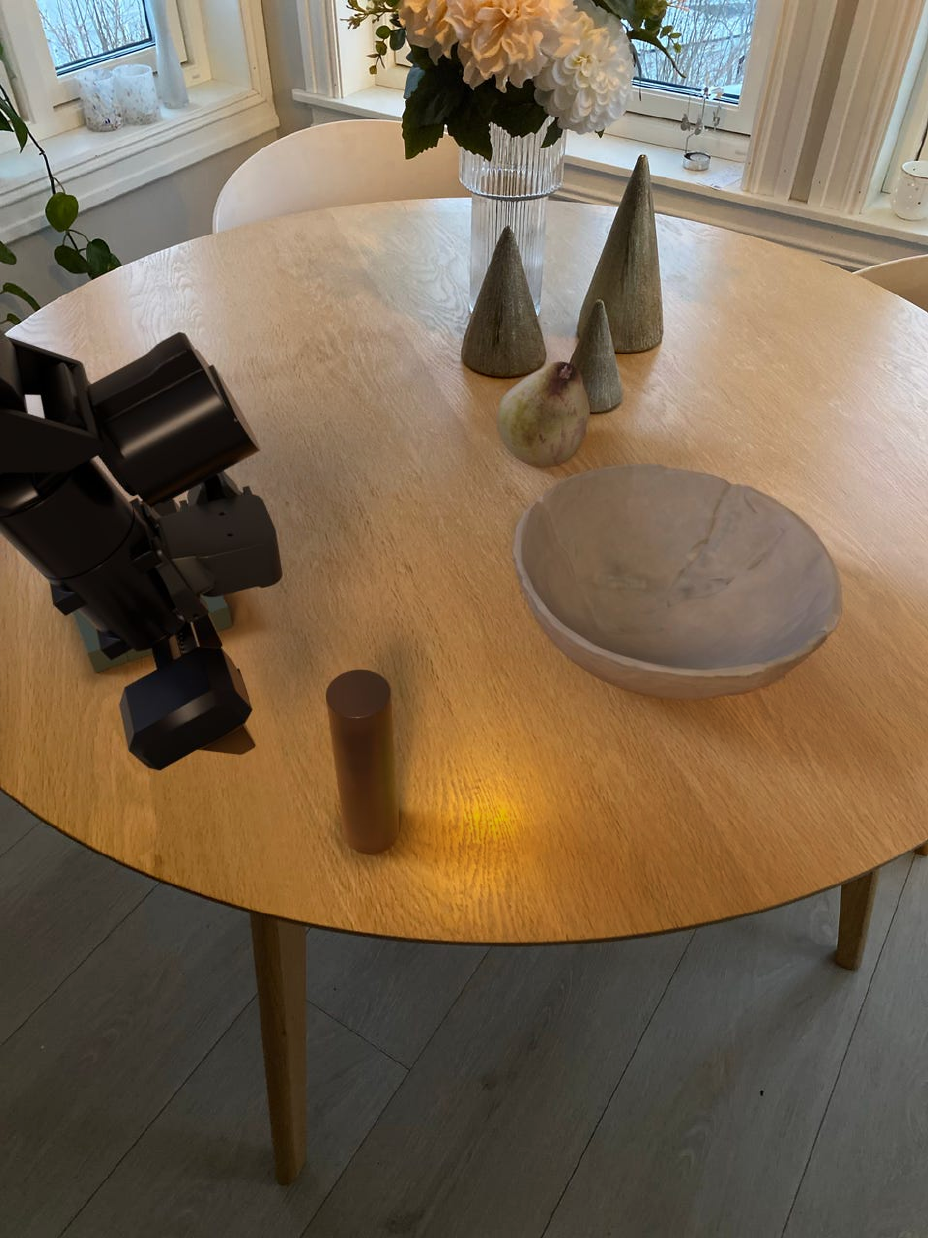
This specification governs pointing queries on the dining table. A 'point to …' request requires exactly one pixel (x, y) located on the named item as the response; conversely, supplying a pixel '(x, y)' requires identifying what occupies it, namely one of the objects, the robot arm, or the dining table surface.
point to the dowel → (364, 759)
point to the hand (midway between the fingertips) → (231, 696)
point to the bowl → (675, 581)
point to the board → (102, 662)
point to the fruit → (545, 415)
